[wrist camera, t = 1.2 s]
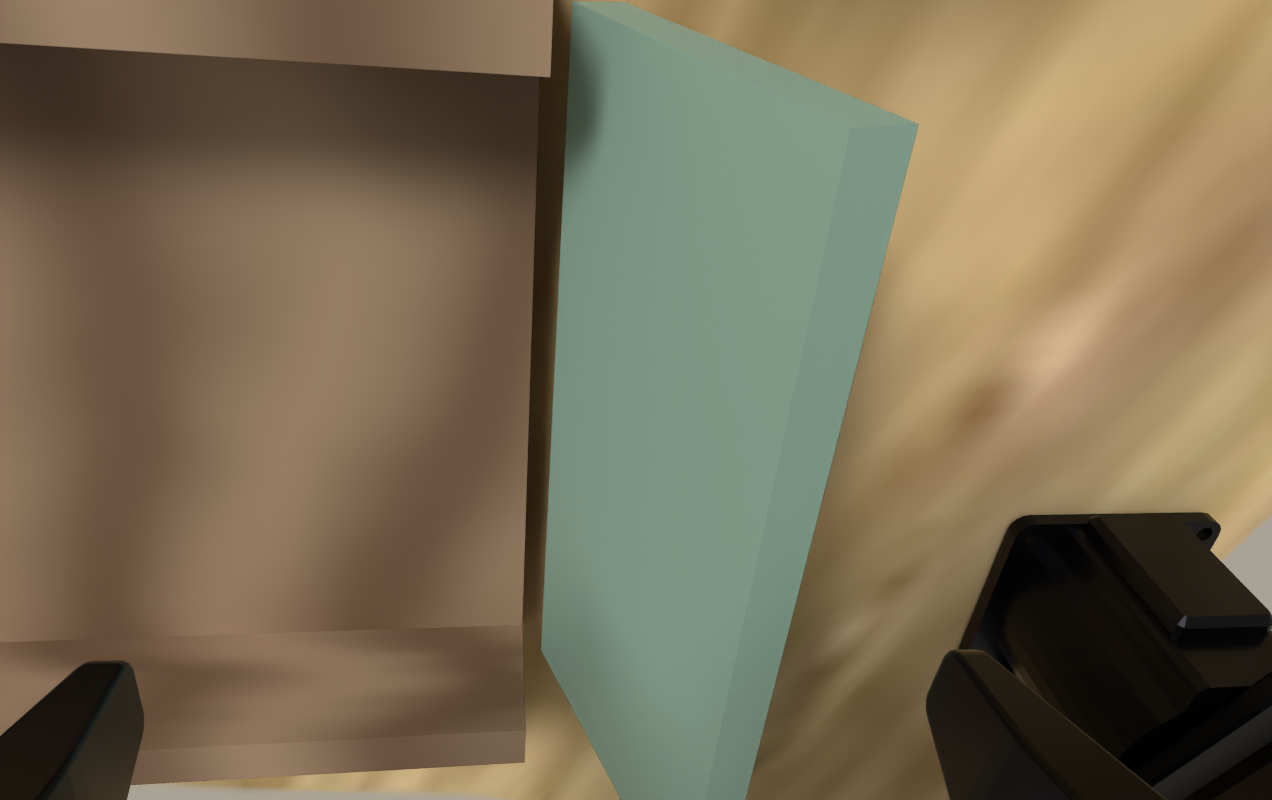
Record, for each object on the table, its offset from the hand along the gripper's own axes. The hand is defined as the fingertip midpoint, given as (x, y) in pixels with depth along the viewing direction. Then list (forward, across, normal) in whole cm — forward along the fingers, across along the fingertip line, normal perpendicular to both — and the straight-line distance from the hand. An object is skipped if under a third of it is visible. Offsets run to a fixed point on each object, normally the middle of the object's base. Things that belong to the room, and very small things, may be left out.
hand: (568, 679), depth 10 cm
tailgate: (+10, -1, +2) cm, 11 cm away
